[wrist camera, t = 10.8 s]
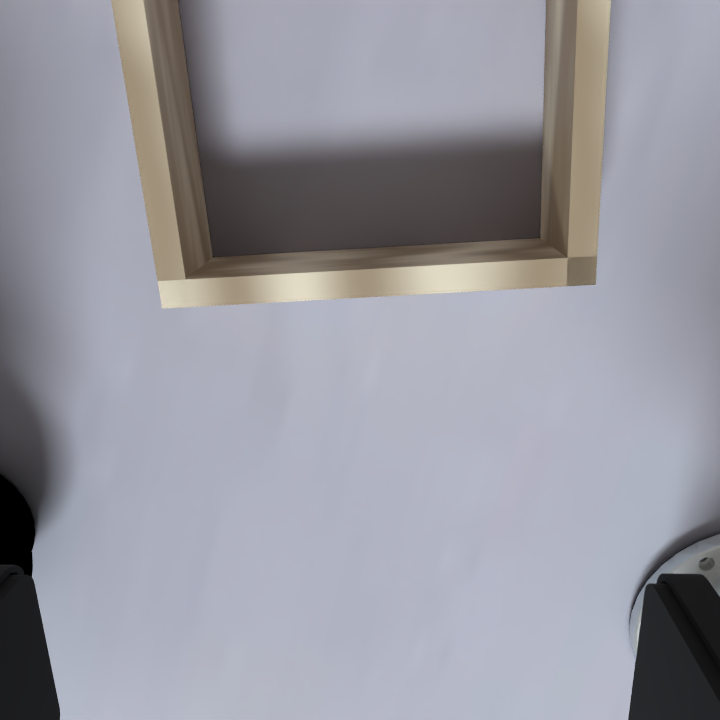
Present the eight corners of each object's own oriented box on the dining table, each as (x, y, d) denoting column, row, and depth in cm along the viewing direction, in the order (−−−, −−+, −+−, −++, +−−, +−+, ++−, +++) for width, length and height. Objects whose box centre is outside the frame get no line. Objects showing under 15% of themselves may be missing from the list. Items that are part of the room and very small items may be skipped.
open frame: (578, -103, 28) (618, -149, 23) (564, 261, 33) (595, 284, 28) (140, -68, 29) (93, -105, 24) (192, 282, 34) (162, 308, 29)
